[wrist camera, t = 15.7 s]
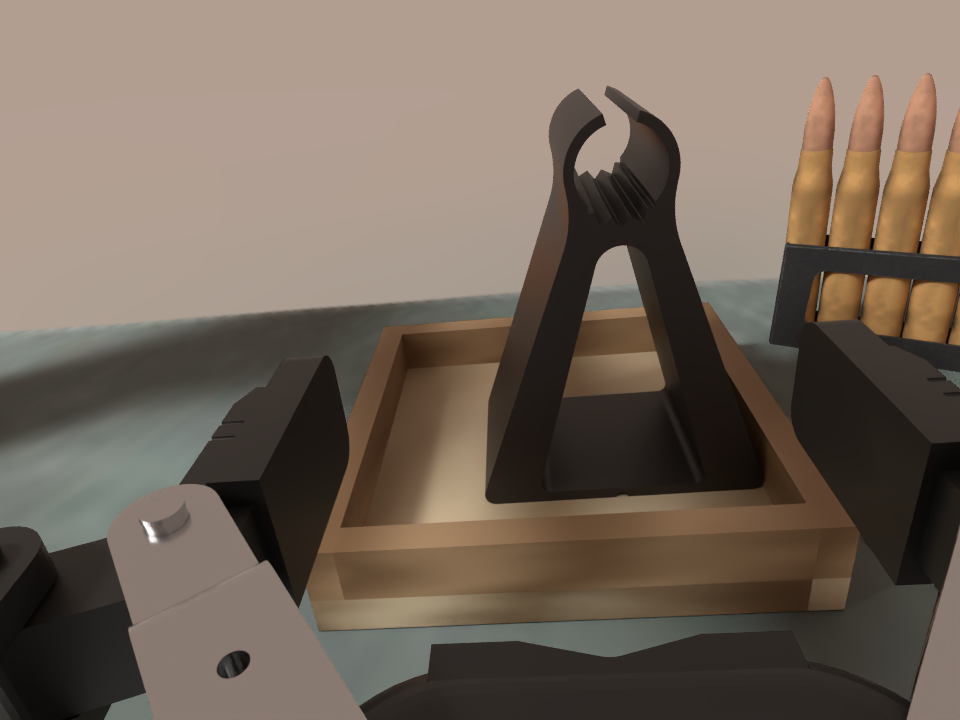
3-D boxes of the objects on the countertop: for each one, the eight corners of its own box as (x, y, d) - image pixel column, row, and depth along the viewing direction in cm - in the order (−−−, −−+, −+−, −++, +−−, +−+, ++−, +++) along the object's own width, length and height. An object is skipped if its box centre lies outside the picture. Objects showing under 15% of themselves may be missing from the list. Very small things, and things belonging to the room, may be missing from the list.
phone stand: (484, 504, 22) (439, 129, 17) (489, 409, 28) (456, 100, 22) (762, 489, 22) (809, 93, 16) (712, 395, 27) (734, 72, 22)
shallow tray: (319, 630, 20) (296, 554, 19) (394, 382, 33) (384, 326, 32) (844, 609, 19) (861, 526, 17) (704, 360, 32) (708, 302, 31)
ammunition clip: (1042, 365, 29) (1139, 61, 24) (1045, 385, 28) (1149, 68, 22) (776, 328, 35) (804, 75, 29) (768, 343, 33) (796, 81, 28)
